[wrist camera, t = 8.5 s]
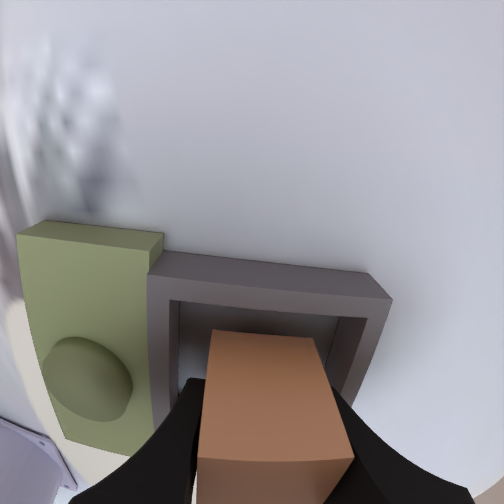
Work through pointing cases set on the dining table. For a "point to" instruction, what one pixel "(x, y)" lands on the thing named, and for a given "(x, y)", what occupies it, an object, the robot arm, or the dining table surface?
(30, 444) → the robot arm
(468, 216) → the dining table surface
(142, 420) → the domed block with frame
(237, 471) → the plain brown block
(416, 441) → the dining table surface
